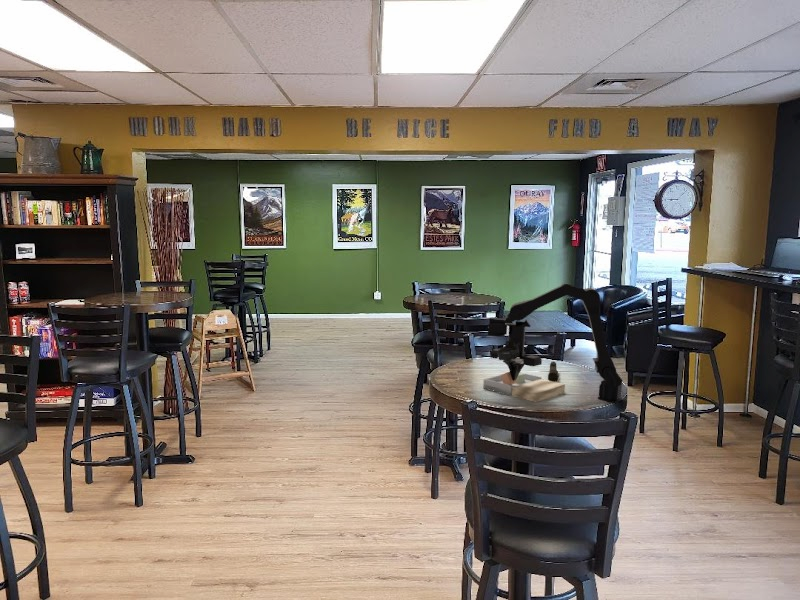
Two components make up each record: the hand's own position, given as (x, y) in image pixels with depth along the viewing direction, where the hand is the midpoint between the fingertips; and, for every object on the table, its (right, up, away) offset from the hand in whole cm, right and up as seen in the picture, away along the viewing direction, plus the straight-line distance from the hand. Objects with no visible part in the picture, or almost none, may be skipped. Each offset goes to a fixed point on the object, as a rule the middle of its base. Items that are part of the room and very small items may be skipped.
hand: (514, 380), depth 205 cm
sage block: (+3, +1, +8) cm, 9 cm away
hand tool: (+20, -2, +25) cm, 32 cm away
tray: (+1, -3, +6) cm, 7 cm away
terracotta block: (-1, +1, 0) cm, 1 cm away
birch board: (+8, -5, -2) cm, 10 cm away
